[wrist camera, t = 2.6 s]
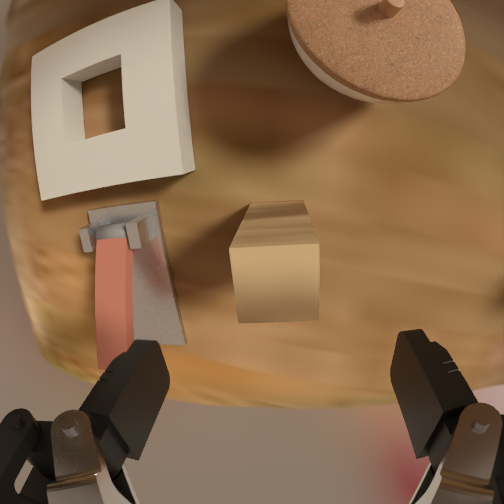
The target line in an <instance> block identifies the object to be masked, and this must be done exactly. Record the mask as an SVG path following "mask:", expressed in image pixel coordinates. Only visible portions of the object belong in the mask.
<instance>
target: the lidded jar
mask: <svg viewBox="0 0 504 504" xmlns="http://www.w3.org/2000/svg"><path fill="white" fill-rule="evenodd" d="M285 4H286V14H287V18H288V27H289V31H290V35H291V38H292V42H293V44H294V46H295V48H296V51H297V53H298V54H299V56H300V57H301V59H302V61H303V62H304V63H305V65H306V66H307V67H308V68H309V69H310V71H311V72H312V73H313V74H314V75H315V76H316V77H317V78H318V79H320V80H321V81H322V82H323V83H325V84H326V85H328V86H329V87H330V88H332V89H334V90H336V91H337V92H339V93H341V94H344V95H346V96H349V97H351V98H354V99H357V100H361V101H365V102H372V103H383V104H385V103H400V102H413V101H418V100H424V99H428V98H430V97H433V96H436V95H438V94H440V93H441V92H443V91H445V90H446V89H448V88H449V87H450V86H451V85H452V84H453V83H454V82H455V80H456V79H457V77H458V75H459V74H460V72H461V69H462V66H463V64H464V58H465V37H464V32H463V27H462V24H461V21H460V19H459V16H458V14H457V12H456V10H455V8H454V6H453V5H452V3H451V2H450V0H285Z"/></svg>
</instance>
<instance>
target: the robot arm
mask: <svg viewBox="0 0 504 504" xmlns="http://www.w3.org/2000/svg"><path fill="white" fill-rule="evenodd" d="M390 376H391V383H392V386H393V389H394V391H395V394H396V397H397V400H398V403H399V405H400V408H401V411H402V414H403V417H404V420H405V423H406V426H407V429H408V432H409V436H410V439H411V442H412V445H413V448H414V452H415V455H416V458H417V459H418V458H422V457H425V456H429V459H430V464H429V465H428V467H427V469H426V471H425V473H424V476H423V477H422V480H421V482H420V484H419V486H418V488H417V489H416V491H415V493H414V495H413V497H412V499H411V500H410V502H409V504H491V503H492V504H504V415H500V413H499V412H498V411H497V410H496V409H495V408H494V407H493V406H491V405H488V404H486V403H478V401H477V399H476V398H475V396H474V394H473V392H472V391H471V389H470V387H469V385H468V384H467V382H466V380H465V379H464V377H463V375H462V374H461V372H460V371H458V367H457V366H456V364H455V362H453V359H452V358H451V356H450V354H449V353H448V351H447V350H446V349H445V348H444V347H442V346H441V345H440V344H438V343H437V342H436V341H434V342H430V341H429V339H428V338H427V336H426V334H425V333H424V331H423V330H422V329H416V330H409V331H402V332H399V334H398V337H397V341H396V346H395V351H394V355H393V360H392V364H391V370H390ZM169 385H170V376H169V372H168V369H167V366H166V363H165V360H164V357H163V354H162V351H161V348H160V345H159V343H158V342H157V341H156V340H141V339H136V340H134V341H133V343H132V344H131V346H130V347H129V349H128V350H127V352H122V353H121V354H120V355H118V356H117V357H116V358H115V359H113V360H112V361H111V363H110V364H109V365H108V367H107V368H106V370H105V372H104V373H103V374H102V376H101V377H100V381H99V380H98V381H97V383H96V384H95V386H94V387H93V389H92V390H91V392H90V394H89V395H88V397H87V398H86V400H85V401H84V402H83V404H82V405H81V407H80V409H79V410H68V411H65V412H63V413H61V414H60V415H58V416H57V417H56V418H55V419H54V421H36V420H35V419H34V417H33V416H32V414H31V413H30V412H29V411H28V410H26V409H22V408H21V409H15V410H13V411H11V412H10V413H8V414H7V415H6V416H5V418H4V419H3V421H2V422H1V423H0V504H140V503H139V500H138V498H137V496H136V493H135V491H134V489H133V486H132V484H131V481H130V479H129V476H128V473H127V470H126V468H125V466H124V465H123V463H124V461H125V459H126V457H127V458H131V459H135V460H139V458H140V456H141V453H142V451H143V448H144V446H145V444H146V441H147V439H148V437H149V434H150V432H151V430H152V427H153V425H154V422H155V420H156V418H157V415H158V413H159V411H160V408H161V406H162V404H163V401H164V399H165V397H166V394H167V392H168V389H169ZM26 460H28V462H30V464H31V465H33V468H32V470H31V472H30V474H29V476H28V478H27V480H26V482H25V484H24V486H23V488H22V490H21V492H20V493H19V494H17V492H16V491H15V487H14V483H15V480H16V478H17V476H18V474H19V472H20V470H21V468H22V467H23V465H24V463H25V461H26Z"/></svg>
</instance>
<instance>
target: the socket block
mask: <svg viewBox="0 0 504 504" xmlns="http://www.w3.org/2000/svg"><path fill="white" fill-rule="evenodd" d="M118 68H121V69H122V90H123V105H124V118H125V129H121V130H117V131H113V132H110V133H106V134H102V135H99V136H95V137H92V138H89V139H86V140H85V132H84V120H83V105H82V82H83V81H86V80H88V79H91V78H93V77H96V76H98V75H101V74H104V73H107V72H109V71H112V70H115V69H118ZM31 115H32V132H33V144H34V154H35V162H36V170H37V177H38V183H39V189H40V195H41V201H43V200H47V199H51V198H55V197H60V196H64V195H68V194H73V193H77V192H82V191H87V190H92V189H97V188H102V187H107V186H112V185H118V184H123V183H129V182H135V181H141V180H147V179H154V178H160V177H167V176H175V175H182V174H186V173H188V172H191V171H194V170H195V163H194V154H193V145H192V135H191V126H190V115H189V105H188V93H187V81H186V68H185V54H184V38H183V19H182V10H181V9H180V8H179V6H178V5H177V4H176V3H175V2H174V1H173V0H156V1H152V2H149V3H146V4H143V5H140V6H137V7H134V8H131V9H128V10H126V11H123V12H120V13H118V14H115V15H113V16H110V17H108V18H105V19H103V20H101V21H98V22H96V23H94V24H92V25H89V26H87V27H85V28H83V29H81V30H79V31H77V32H75V33H73V34H71V35H69V36H67V37H65V38H63V39H61V40H59V41H58V42H56V43H54V44H52V45H50V46H49V47H47V48H45V49H44V50H42V51H40V52H39V53H37V54H35V55H34V56H32V67H31Z"/></svg>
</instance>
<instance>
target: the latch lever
mask: <svg viewBox="0 0 504 504" xmlns="http://www.w3.org/2000/svg"><path fill="white" fill-rule="evenodd" d="M125 224H126V223H119V224H110V225H102V226H99V227H98V228H97V230H96V239H97V243H96V263H95V324H96V344H97V358H98V368H99V369H105V370H106V368H107V367H108V365H109V364H110V363H111V361H112V360H113V359H115V358H116V357H117V356H118V355H120V354H121V353H122V352H127V350H128V349H129V347H130V346H131V344H132V343H133V341H134V328H133V249H130V244H129V240H128V235H127V230H126V225H125Z"/></svg>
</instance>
